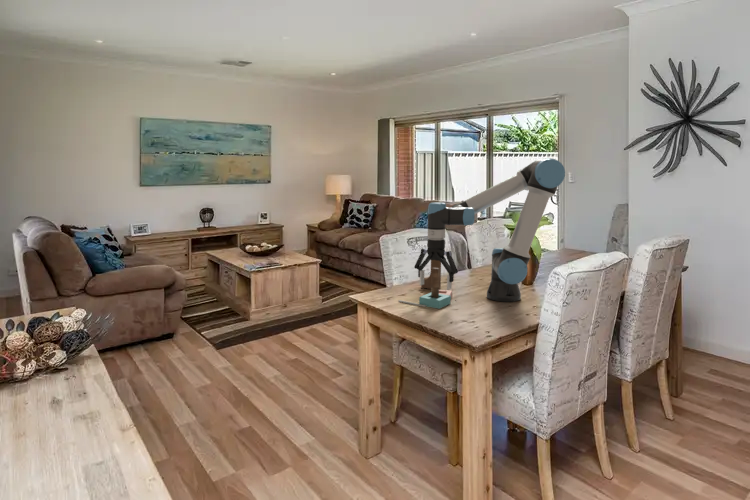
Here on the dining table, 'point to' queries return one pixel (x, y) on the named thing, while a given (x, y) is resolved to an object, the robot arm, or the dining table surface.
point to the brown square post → (435, 283)
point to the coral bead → (445, 292)
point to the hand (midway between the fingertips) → (435, 287)
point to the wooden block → (429, 279)
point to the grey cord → (412, 303)
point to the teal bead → (435, 300)
